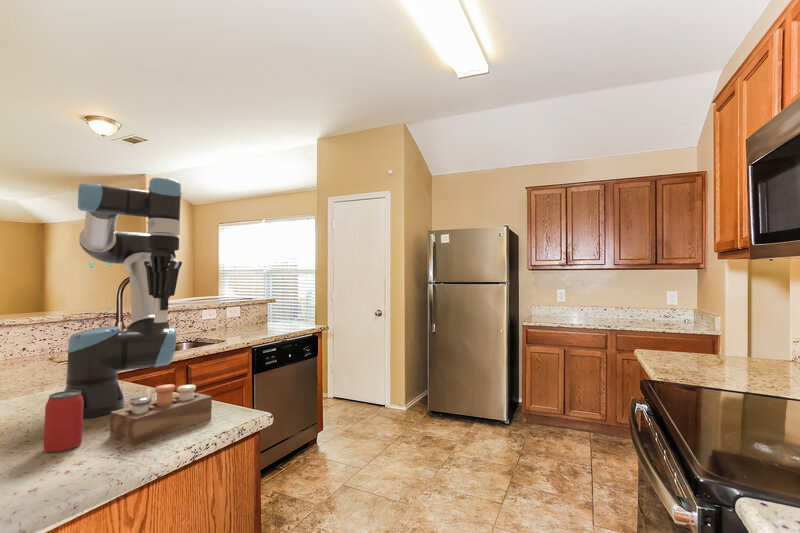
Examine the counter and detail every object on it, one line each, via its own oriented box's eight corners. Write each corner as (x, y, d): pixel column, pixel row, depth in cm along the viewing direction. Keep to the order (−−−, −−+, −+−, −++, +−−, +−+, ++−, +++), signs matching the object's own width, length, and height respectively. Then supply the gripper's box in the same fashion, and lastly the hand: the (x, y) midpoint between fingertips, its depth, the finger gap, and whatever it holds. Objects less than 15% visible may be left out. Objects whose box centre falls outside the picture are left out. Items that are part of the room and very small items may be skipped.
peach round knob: (150, 414, 100) (151, 387, 100) (167, 409, 104) (168, 383, 104) (161, 417, 98) (162, 389, 98) (178, 412, 102) (178, 385, 102)
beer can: (59, 455, 84) (61, 399, 84) (35, 452, 85) (37, 396, 86) (89, 442, 90) (91, 390, 91) (66, 440, 92) (68, 388, 92)
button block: (109, 437, 94) (110, 412, 94) (187, 412, 112) (188, 391, 112) (134, 445, 89) (135, 419, 89) (211, 418, 107) (211, 396, 107)
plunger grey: (125, 428, 94) (126, 399, 94) (143, 422, 98) (144, 395, 98) (135, 431, 92) (137, 402, 92) (154, 425, 96) (155, 397, 96)
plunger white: (173, 413, 105) (173, 387, 105) (188, 408, 109) (188, 383, 109) (183, 415, 103) (184, 390, 103) (198, 411, 107) (199, 386, 107)
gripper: (135, 235, 106) (131, 322, 105) (165, 233, 100) (162, 325, 100) (162, 237, 113) (159, 319, 112) (192, 236, 107) (189, 322, 106)
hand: (160, 322), depth 106 cm, fingers closed
